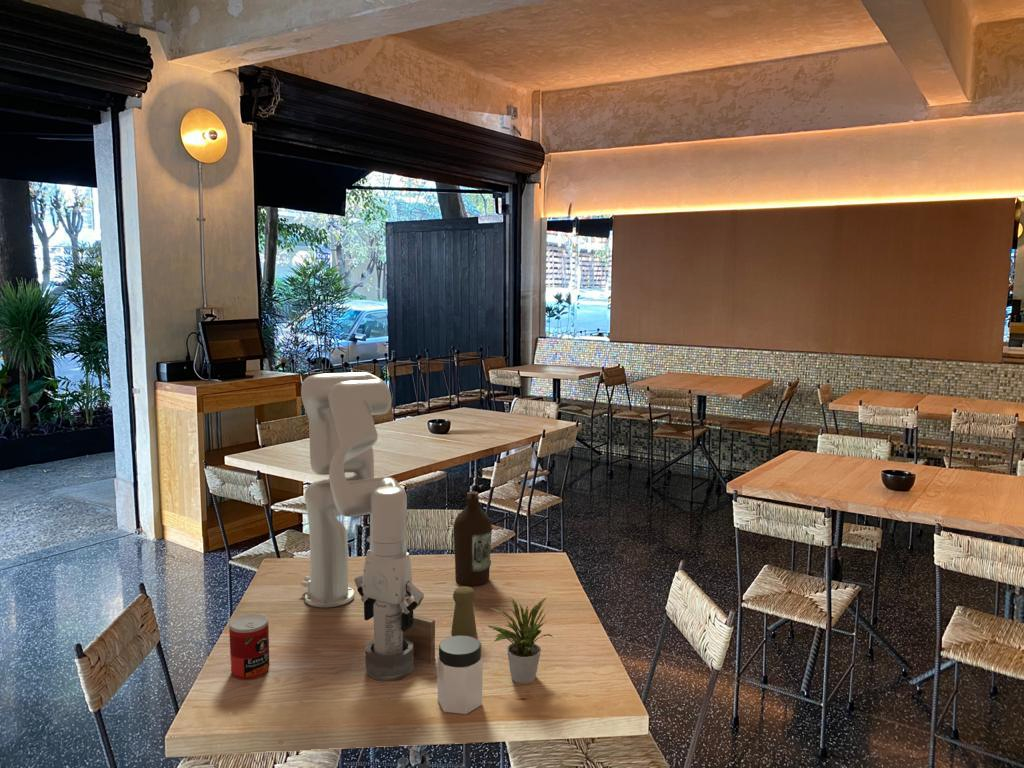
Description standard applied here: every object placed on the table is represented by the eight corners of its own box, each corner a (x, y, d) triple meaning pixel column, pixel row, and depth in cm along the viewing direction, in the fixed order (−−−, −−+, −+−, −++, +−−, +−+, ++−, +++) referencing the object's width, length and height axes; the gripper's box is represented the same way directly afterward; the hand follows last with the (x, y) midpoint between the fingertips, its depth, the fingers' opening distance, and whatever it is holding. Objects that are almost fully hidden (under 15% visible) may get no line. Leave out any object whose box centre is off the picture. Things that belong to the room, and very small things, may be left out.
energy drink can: (392, 654, 163) (391, 588, 161) (408, 664, 159) (408, 596, 157) (368, 663, 159) (367, 596, 157) (385, 674, 155) (384, 605, 153)
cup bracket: (398, 686, 152) (398, 644, 151) (352, 672, 157) (351, 631, 156) (434, 658, 163) (434, 619, 162) (390, 646, 169) (390, 608, 168)
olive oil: (445, 579, 208) (445, 492, 205) (474, 570, 216) (474, 485, 213) (470, 590, 201) (471, 500, 198) (499, 580, 208) (500, 493, 205)
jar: (460, 686, 152) (460, 630, 151) (490, 700, 147) (490, 643, 145) (428, 704, 145) (428, 646, 144) (458, 720, 140) (458, 659, 139)
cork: (473, 640, 172) (473, 594, 171) (447, 637, 174) (448, 592, 172) (479, 628, 178) (479, 584, 177) (455, 626, 179) (455, 582, 178)
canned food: (247, 684, 152) (246, 633, 151) (222, 673, 156) (220, 623, 155) (277, 668, 158) (276, 619, 157) (252, 658, 163) (251, 610, 161)
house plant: (513, 651, 167) (514, 581, 165) (568, 668, 160) (570, 595, 158) (478, 679, 155) (478, 604, 153) (536, 698, 148) (537, 620, 146)
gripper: (344, 543, 156) (344, 620, 159) (411, 560, 148) (411, 640, 151) (366, 533, 163) (367, 607, 165) (433, 548, 155) (432, 625, 157)
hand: (388, 623), depth 158 cm, fingers open, 9 cm apart
